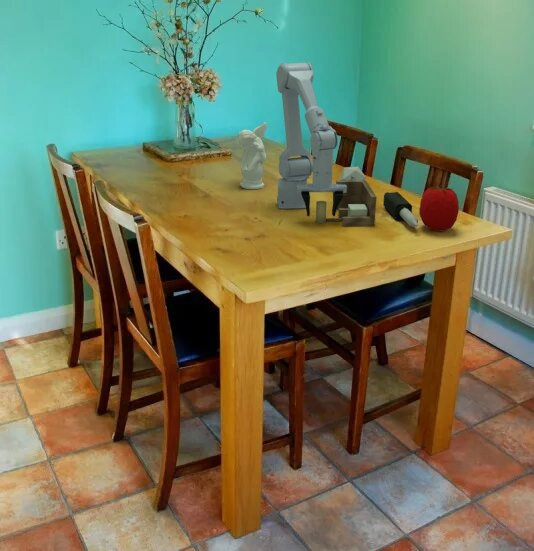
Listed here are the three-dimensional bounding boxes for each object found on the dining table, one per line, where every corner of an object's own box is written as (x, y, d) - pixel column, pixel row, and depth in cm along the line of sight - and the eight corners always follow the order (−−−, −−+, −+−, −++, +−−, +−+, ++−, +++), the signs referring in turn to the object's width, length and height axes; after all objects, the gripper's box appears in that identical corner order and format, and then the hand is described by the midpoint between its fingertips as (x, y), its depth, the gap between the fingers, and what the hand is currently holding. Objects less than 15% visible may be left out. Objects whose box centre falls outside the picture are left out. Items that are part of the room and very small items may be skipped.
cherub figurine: (246, 191, 237) (245, 127, 228) (226, 183, 246) (225, 121, 237) (274, 186, 244) (275, 123, 235) (254, 178, 253) (254, 117, 244)
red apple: (440, 239, 196) (445, 194, 190) (408, 227, 205) (412, 183, 199) (466, 231, 202) (472, 187, 197) (434, 219, 211) (439, 177, 206)
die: (333, 191, 241) (340, 173, 233) (342, 174, 245) (349, 156, 237) (354, 200, 240) (362, 184, 232) (363, 183, 244) (371, 166, 236)
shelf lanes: (342, 226, 205) (344, 197, 202) (334, 208, 221) (336, 180, 217) (374, 225, 206) (376, 196, 202) (364, 207, 221) (366, 180, 218)
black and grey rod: (383, 207, 222) (407, 234, 199) (384, 192, 220) (409, 217, 197) (398, 206, 222) (424, 233, 200) (399, 191, 220) (426, 216, 198)
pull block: (316, 224, 207) (317, 204, 204) (314, 218, 211) (315, 199, 209) (366, 223, 207) (367, 204, 205) (363, 218, 212) (364, 199, 210)
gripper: (299, 175, 199) (298, 219, 204) (349, 174, 200) (346, 219, 205) (297, 168, 205) (296, 212, 211) (345, 168, 206) (343, 211, 212)
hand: (320, 215), depth 208 cm, fingers open, 7 cm apart
